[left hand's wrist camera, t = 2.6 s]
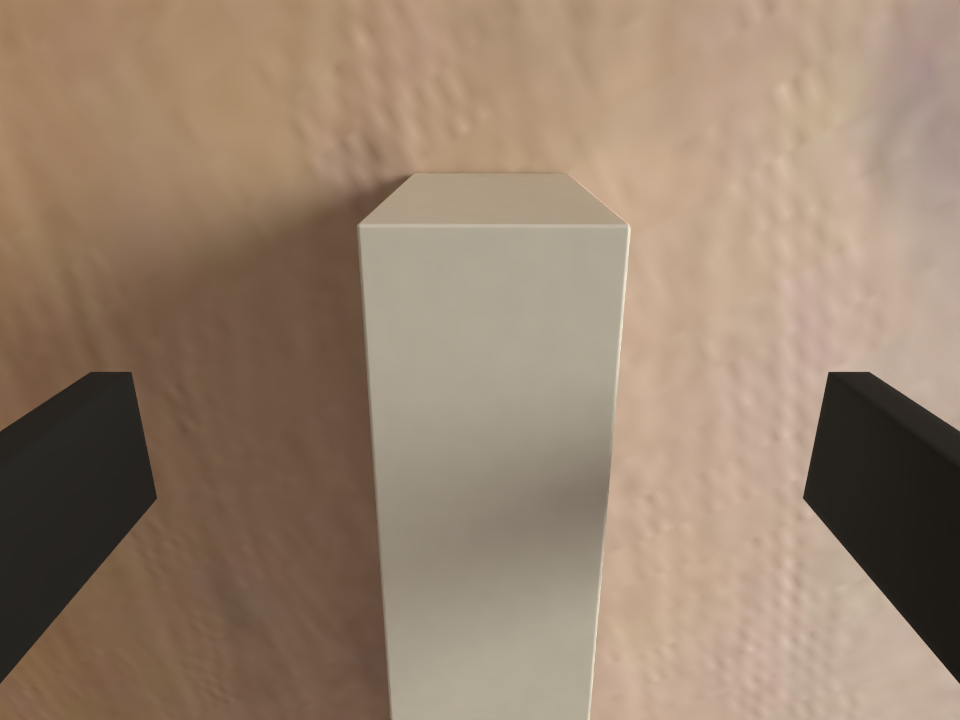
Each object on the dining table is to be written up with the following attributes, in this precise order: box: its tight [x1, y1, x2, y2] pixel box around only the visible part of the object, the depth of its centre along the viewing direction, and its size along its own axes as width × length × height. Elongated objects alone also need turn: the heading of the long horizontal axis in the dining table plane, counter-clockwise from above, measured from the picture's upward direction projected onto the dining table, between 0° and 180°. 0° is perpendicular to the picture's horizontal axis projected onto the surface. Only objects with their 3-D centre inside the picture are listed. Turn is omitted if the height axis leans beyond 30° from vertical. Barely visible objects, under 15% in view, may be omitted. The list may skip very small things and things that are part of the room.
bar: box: [357, 173, 631, 720], centre depth 19 cm, size 26×4×9 cm, turn 0°
